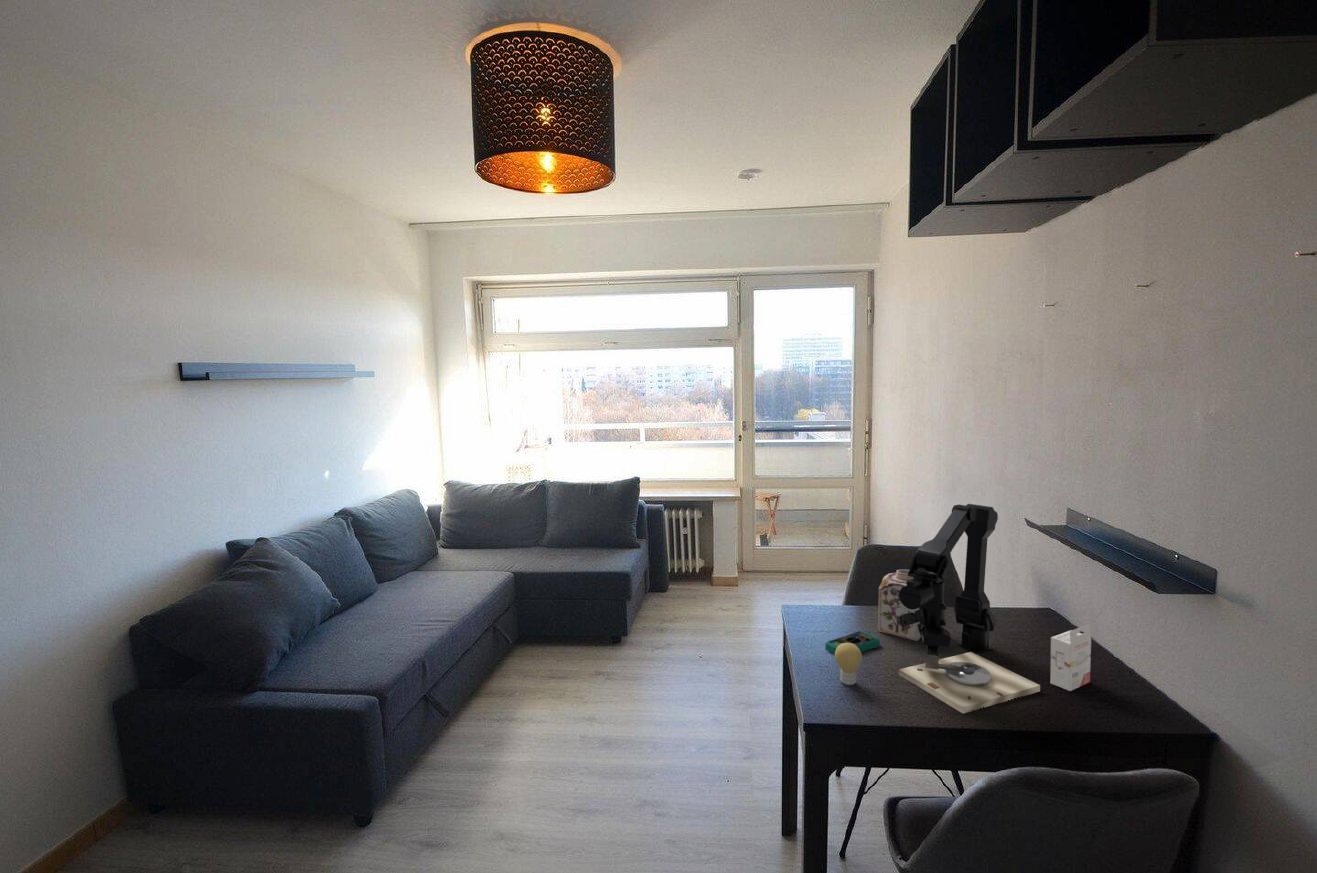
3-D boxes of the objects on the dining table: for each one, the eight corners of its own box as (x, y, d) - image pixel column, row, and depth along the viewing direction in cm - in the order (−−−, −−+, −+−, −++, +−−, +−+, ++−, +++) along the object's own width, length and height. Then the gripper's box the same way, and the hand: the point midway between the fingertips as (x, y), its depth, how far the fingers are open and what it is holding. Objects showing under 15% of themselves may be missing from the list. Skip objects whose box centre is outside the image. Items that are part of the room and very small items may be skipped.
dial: (988, 670, 157) (989, 652, 157) (992, 689, 148) (992, 669, 147) (925, 661, 163) (925, 643, 162) (925, 678, 154) (925, 660, 153)
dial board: (970, 657, 168) (970, 651, 168) (1040, 691, 150) (1040, 684, 149) (899, 675, 160) (899, 668, 159) (963, 713, 141) (963, 706, 141)
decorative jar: (877, 632, 186) (877, 572, 184) (892, 619, 195) (892, 563, 193) (918, 642, 178) (919, 580, 177) (932, 629, 187) (933, 570, 185)
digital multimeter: (881, 647, 177) (881, 637, 177) (844, 660, 169) (844, 650, 169) (861, 638, 183) (861, 628, 183) (824, 651, 176) (824, 640, 175)
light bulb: (863, 690, 153) (863, 650, 152) (836, 688, 154) (836, 649, 153) (859, 677, 159) (859, 639, 158) (833, 676, 160) (833, 638, 159)
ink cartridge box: (1069, 674, 157) (1071, 617, 156) (1090, 683, 153) (1092, 624, 151) (1048, 683, 153) (1050, 624, 152) (1069, 692, 149) (1071, 631, 148)
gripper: (893, 582, 169) (893, 638, 171) (901, 611, 151) (901, 672, 153) (938, 584, 166) (938, 641, 168) (952, 613, 148) (951, 676, 150)
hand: (931, 656), depth 160 cm, fingers closed
